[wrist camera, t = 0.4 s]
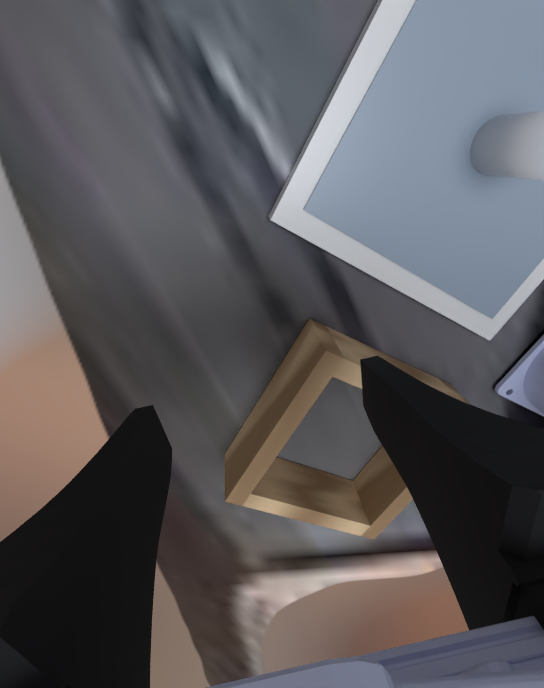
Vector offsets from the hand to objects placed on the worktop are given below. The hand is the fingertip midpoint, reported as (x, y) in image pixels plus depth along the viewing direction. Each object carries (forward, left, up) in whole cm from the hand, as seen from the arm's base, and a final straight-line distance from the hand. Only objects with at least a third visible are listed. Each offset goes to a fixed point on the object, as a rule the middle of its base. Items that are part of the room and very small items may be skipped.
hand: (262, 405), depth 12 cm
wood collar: (-10, +5, -10) cm, 15 cm away
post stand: (-7, -13, -10) cm, 17 cm away
